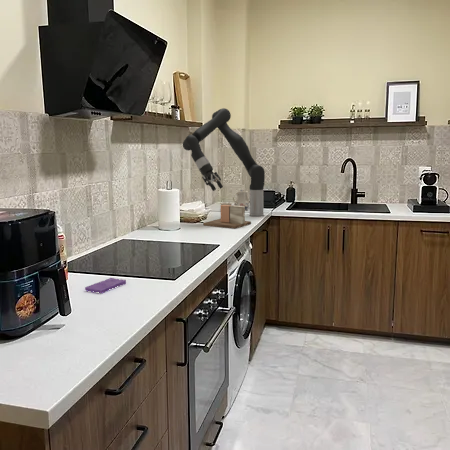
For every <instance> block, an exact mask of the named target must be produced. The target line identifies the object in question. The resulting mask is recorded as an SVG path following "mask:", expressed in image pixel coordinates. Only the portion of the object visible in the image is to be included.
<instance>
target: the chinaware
mask: <svg viewBox="0 0 450 450" xmlns="http://www.w3.org/2000/svg"><path fill="white" fill-rule="evenodd" d="M248 192H249V191H248V190H243V188H242V187H240V189H238V190H237V191H236V193H234V194H233V195H232V200H233V202H234V203H233V202H230V201H229V202H220V203H219V204H220V206H221V205H234V206H245V210H246V211H248V209H249V208H250V197H249V195H248ZM235 196H236V197H237V198H236V200H235Z"/></svg>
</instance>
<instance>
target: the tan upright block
mask: <svg viewBox="0 0 450 450" xmlns="http://www.w3.org/2000/svg"><path fill="white" fill-rule="evenodd" d="M232 205H233V204H231V205H221V204H220V219H221V222H228V223H230V206H232Z"/></svg>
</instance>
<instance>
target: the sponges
mask: <svg viewBox="0 0 450 450" xmlns="http://www.w3.org/2000/svg"><path fill="white" fill-rule="evenodd" d="M126 283H127V280H126V279H122V278H121V279H120V278H114V277H109V278H106V279H105V280H101V281H99V282H95V283H93V284H91V285H90V284H89V285H88V286H84V290H88V291H94V292H99V293H102V292H104V293H106V292H105V291H107V290H109V289H112V288H114V289H116V288H115V287H117V286H119V287H121V286H120V285H122V286H124V285H126ZM123 284H124V285H123ZM117 288H118V287H117ZM112 290H113V289H112ZM88 291H87V292H88ZM109 291H110V290H109ZM94 292H93V293H94ZM107 292H108V291H107ZM99 293H98V294H99ZM102 294H103V293H102Z"/></svg>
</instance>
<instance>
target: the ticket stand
mask: <svg viewBox="0 0 450 450" xmlns="http://www.w3.org/2000/svg"><path fill="white" fill-rule="evenodd" d="M231 205H232V206H230V223H228V222H221V218H216V219H213V220H210V221H205V222H203V226H205V227H206V226H207V227H213V228H214V227H215V228H222V229H223V228H225V229H232V230H235V229H238V228H241V227H243V228H244V227H245V226H249V225H251V224H252V221H249V220H245V217H246V215H245V213H246V211H245V206H234V204H231Z"/></svg>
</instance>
